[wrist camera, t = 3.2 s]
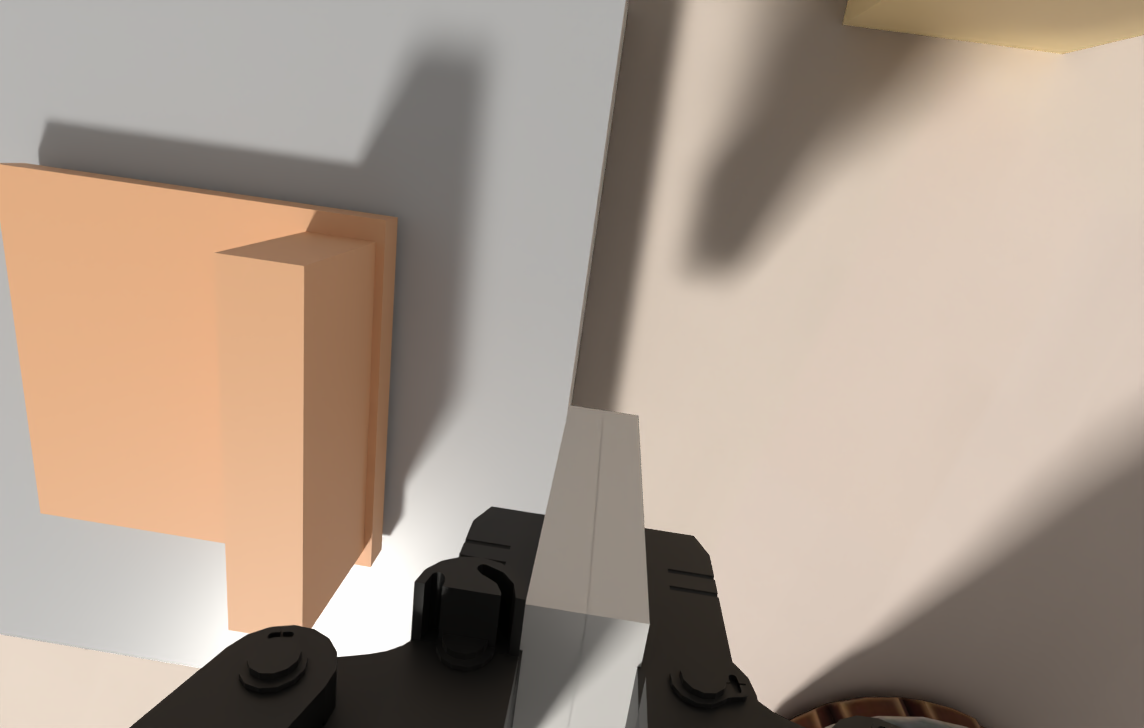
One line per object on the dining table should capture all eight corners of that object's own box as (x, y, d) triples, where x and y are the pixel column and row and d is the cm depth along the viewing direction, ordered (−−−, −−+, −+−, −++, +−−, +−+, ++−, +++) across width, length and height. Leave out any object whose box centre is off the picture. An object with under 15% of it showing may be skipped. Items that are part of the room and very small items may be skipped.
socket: (-349, -121, 17) (-544, -177, 14) (628, 9, 16) (628, -22, 13) (-179, 532, 23) (-291, 584, 20) (536, 651, 22) (523, 722, 20)
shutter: (23, 162, 15) (-189, 164, 11) (397, 216, 15) (316, 238, 11) (64, 498, 18) (-94, 595, 14) (381, 549, 18) (311, 662, 14)
